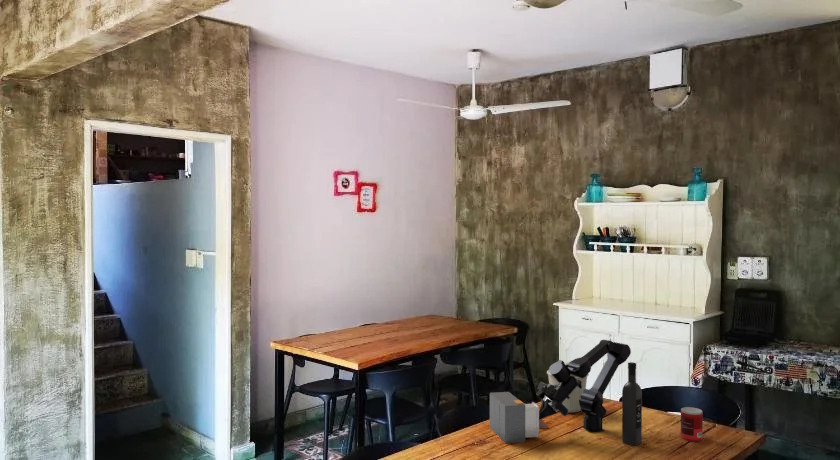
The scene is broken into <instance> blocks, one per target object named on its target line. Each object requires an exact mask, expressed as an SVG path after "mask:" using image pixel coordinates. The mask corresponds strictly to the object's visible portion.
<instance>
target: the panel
mask: <svg viewBox="0 0 840 460" xmlns="http://www.w3.org/2000/svg"><path fill="white" fill-rule="evenodd" d="M524 404H525V439H526V438H539V437H540V429H539V410H540V405H538V404H537V403H536V402H534V401H531V403H524Z"/></svg>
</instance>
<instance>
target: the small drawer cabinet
mask: <svg viewBox="0 0 840 460" xmlns="http://www.w3.org/2000/svg"><path fill="white" fill-rule="evenodd" d="M525 404H526V403H524V402H523V401H521V400H520V399H519V398H517V397H516V396H515V395H513V394H512V393H511V392H509V391H503V392H502V391H500V392H499V391H497V392H489V429H491V430H492V431H493V432H494V433H495V435H497V437H498V436H499V437H500V438H499V437H498V438H499V439H500V440H501V441H502V442H503V443H504V444H514V443H515V444H517V443H525V442H526V438H525Z"/></svg>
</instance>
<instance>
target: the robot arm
mask: <svg viewBox="0 0 840 460" xmlns="http://www.w3.org/2000/svg"><path fill="white" fill-rule="evenodd" d="M631 353H632V350H631V348H630V346H629V345H628V344H626V343H621V342H616V341H613V340H608V339H601V340H600V341H599V343H598V344H597V345H595V346H594V347H593V348H592V349H590V350H589V351H587V353H585V354H584V355H583V356H581V357H577V358H575V359H573V360H570V361H568V362H569V364H567V365H565V361H564V360H561V359H558V361H556V362H554V363H552V364H551V365H550V366H549V368H548V370H549V372H550V373H551V375H552V376H553V377H554V378H555V379H556V380H557V381H558V382H559V384H558V385H551V384H549V383H548V384H547V383H545V382H543V381H539V383H538V385H537V390H538V391H537V392H535V394H536V396H538V397H539V398H540V401H541V406H540V407H539V420H540V419H542V420H543V419H545V418H547V417H550V416H552V415H557V414H558V412H559V413H560V414H561V416H563V417H566V416H567V415H568V414H569V413H568V409H567V408H566V407H565V406H564V405H563V404H562V403H563V401H564V400H565V399H566V398H567V399H569V398H570V397H569V395H570V394H571V393H572V391H573V390H574V389H575V388H576V387H579V388H580V389H581V388H582V385H581V383H582V382H581V381H580V380H577V379H576V378H575V377H574V376H576V377H580V378H585V377H586V376H587V375H588V374H589V373H590V372H591V370H592V367H593V366H594V365H595V364H596V363H597V362H598V361H600V360H601V359H602V358H604V357H605V356H606V357H607V359H606V361H605V363H604V364H603V367H602V368H601V370H600V372H599V374H598V375H597V377H596V379H595V381H594V382H593V384H592V386H591V387H590V388H586V389H584V391H583V393H582V395H581V396H580V397H581V398H580V400H579V404H580V408H581V413H584V417H583V425H582V428H583V429H584V430H586V431H587V432H588V433H595V432H596V433H597V432H600V433H601V432H605V429H604V428H603V418H604V417H606V415H607V409H606V408H605V407H604V406H603V404H604V393H605V391H606V389H607V388H608V386H609V384H610V382H611V381H612V379H613V376H614V375H615V373H616V372H617V370H618V367H620V366H621V365H622V364H624V363H625V362H627V359H628V358H629V357H630V356H631ZM571 375H572V376H571ZM588 376H589V375H588ZM588 376H587V377H588ZM557 410H559V411H557Z"/></svg>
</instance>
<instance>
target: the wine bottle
mask: <svg viewBox="0 0 840 460" xmlns="http://www.w3.org/2000/svg"><path fill="white" fill-rule="evenodd" d="M627 370H628V372H627V376H628V377H627V382H626V383H624V385H623V387H622V393H621V397H622V400H621V403H622V405H621V410H622V411H621V412H622V413H621V414H622V415H621V419H622V420H621V432H622V433H621V442H622V443H624V444H627V445H630V446H633V447H635V446H638V445H640V444H641V443H643V441H642V436H643V435H642V431H643V430H642V429H643V426H642V425H643V423H642V418H643V415H642V413H643V410H642V409H643V407H642V406H643V399H642V398H643V397H642V396H643V393H642V388H641V386H640V385H639V383H638V382H637V363H636V362H632V361H631V362H627Z"/></svg>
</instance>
